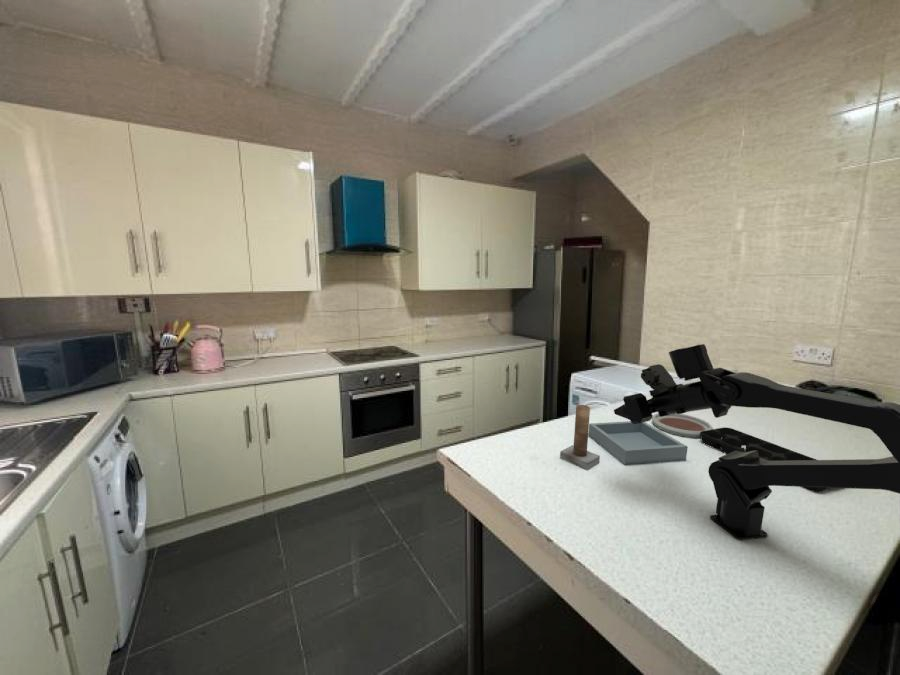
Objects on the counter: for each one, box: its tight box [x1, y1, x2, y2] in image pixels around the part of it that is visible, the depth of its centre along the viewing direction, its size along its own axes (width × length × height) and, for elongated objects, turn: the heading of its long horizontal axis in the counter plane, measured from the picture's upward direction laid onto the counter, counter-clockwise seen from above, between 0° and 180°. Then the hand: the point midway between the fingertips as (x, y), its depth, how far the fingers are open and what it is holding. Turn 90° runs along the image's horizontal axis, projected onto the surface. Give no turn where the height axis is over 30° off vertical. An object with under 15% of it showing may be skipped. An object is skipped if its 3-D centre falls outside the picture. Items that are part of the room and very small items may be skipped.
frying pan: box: [651, 412, 714, 439], centre depth 122 cm, size 17×3×28 cm
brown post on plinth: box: [559, 404, 601, 471], centre depth 94 cm, size 8×6×15 cm
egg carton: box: [700, 426, 827, 493], centre depth 96 cm, size 18×30×4 cm, turn 30°
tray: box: [588, 420, 688, 466], centre depth 103 cm, size 18×18×4 cm
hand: (627, 409), depth 90 cm, fingers open, 9 cm apart
